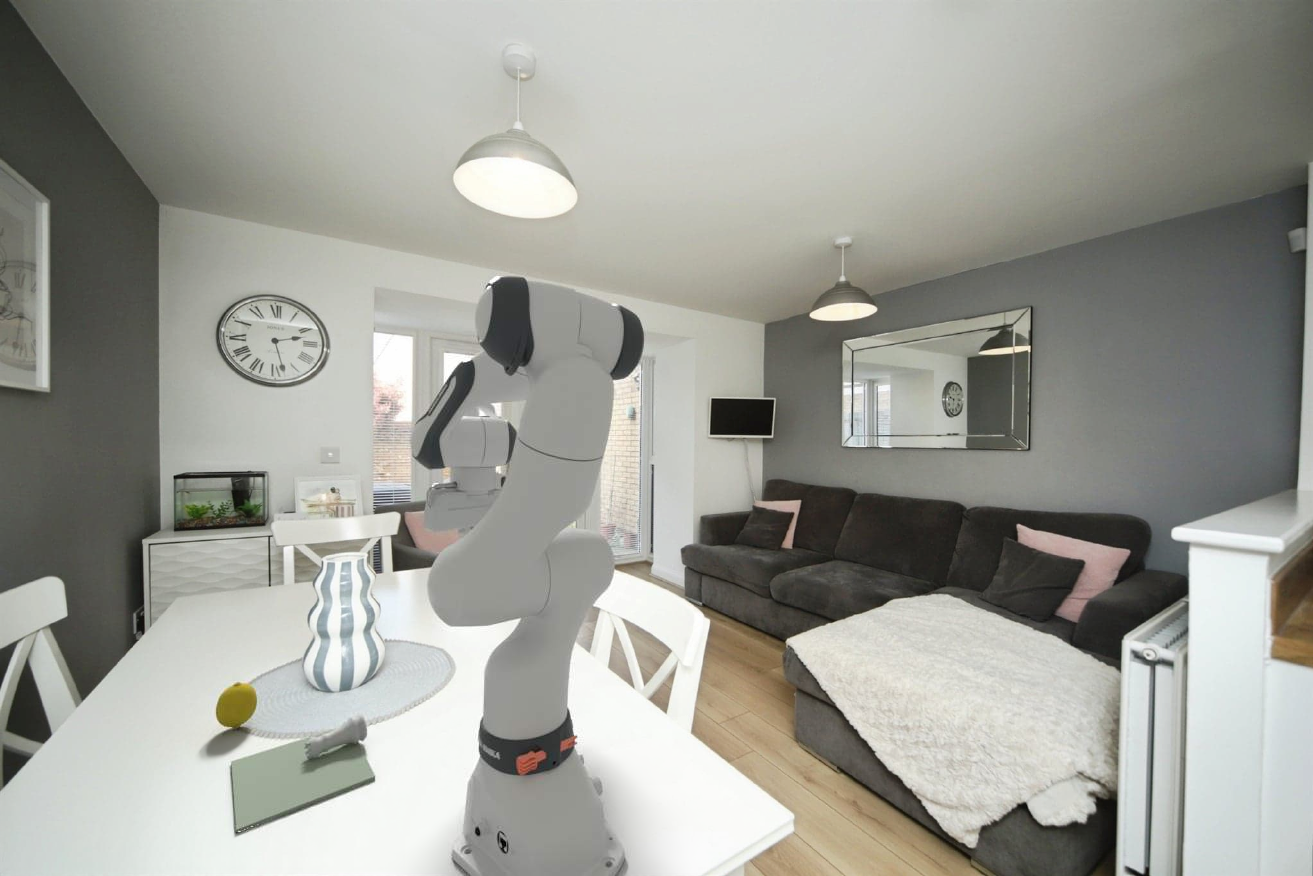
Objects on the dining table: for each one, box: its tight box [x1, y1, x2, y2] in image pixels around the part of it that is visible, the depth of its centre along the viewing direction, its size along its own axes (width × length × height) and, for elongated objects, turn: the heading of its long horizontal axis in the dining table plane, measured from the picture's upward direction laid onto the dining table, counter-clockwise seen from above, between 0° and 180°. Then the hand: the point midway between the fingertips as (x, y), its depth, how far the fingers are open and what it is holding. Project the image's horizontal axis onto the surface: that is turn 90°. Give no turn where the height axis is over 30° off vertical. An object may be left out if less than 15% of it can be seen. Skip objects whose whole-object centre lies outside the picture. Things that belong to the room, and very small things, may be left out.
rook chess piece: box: [305, 713, 368, 759], centre depth 81 cm, size 4×4×8 cm
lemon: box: [215, 681, 258, 730], centre depth 87 cm, size 6×6×8 cm
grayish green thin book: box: [230, 727, 376, 833], centre depth 76 cm, size 18×16×1 cm
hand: (471, 548), depth 103 cm, fingers closed
